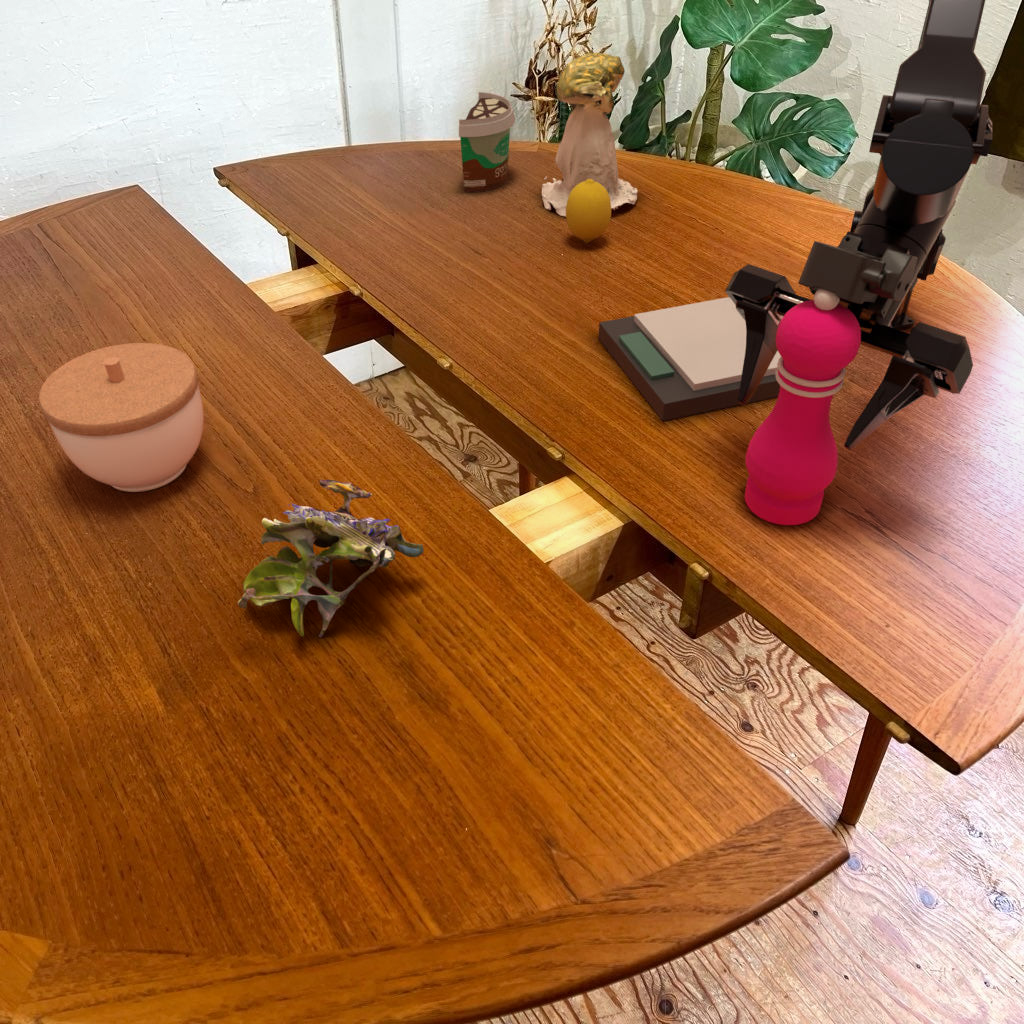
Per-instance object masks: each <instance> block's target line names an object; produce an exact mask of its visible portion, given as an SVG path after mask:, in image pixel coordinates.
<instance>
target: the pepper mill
mask: <svg viewBox="0 0 1024 1024" xmlns="http://www.w3.org/2000/svg"><path fill="white" fill-rule="evenodd" d="M839 300H840V298H838V297H837V295H836V294H835V293H833V292H830V291H827V290H824V289H821V288H819V289H818V290H817V291H816V293H815V295H814V294H813V299H810V301H805V302H802V303H799V304H798V305H796V306H794V307H793V308H791V309H790V310H789V311H788V312H787V313H786V314H785V315H784V317H783V318H782V320H781V322H780V324H779V326H778V329H777V334H776V346H777V349H778V352H779V354H780V355H781V357H780V358H779V360H778V364H777V366H778V369H777V370H776V374H775V376H776V380H777V382H778V383H779V384H780V391H779V395H778V397H777V400H776V402H775V404H774V406H773V408H772V410H771V411H770V412H769V414H768V416H767V417H766V418H765V419H764V421H763V422H762V423H761V424H759V425H760V426H758V428H757V429H756V430H755V432H754V433H753V436H752V437H751V439H750V440H749V443H748V447H747V450H746V453H745V467H746V470H747V472H748V474H749V476H748V478H747V480H746V486H745V490H744V491H745V492H744V500H745V504H746V506H747V507H748V509H749V510H750V511H751V512H752V513H753V514H754V515H756V516H757V517H758V518H760V519H761V520H764V521H766V522H767V523H771V524H775V525H781V526H798V525H803V524H807V523H809V522H810V521H812V520H814V519H815V518H816V517H817V516H818V514H819V513H820V510H821V506H822V504H823V503H822V502H823V500H824V496H825V495H824V494H825V490H826V488H827V487H828V486H829V485H831V483H832V482H833V480H834V479H835V477H836V473H837V467H838V458H839V457H838V447H837V442H836V439H835V436H834V432H833V430H832V426H831V422H830V410H831V405H832V401H833V398H834V395H835V394H837V393H838V392H839V391H840V390H842V388H843V386H844V378H845V377H846V375H847V369H846V367H847V366H848V365H850V364H851V363H852V362H853V361H854V360H855V358H856V356H857V355H858V353H859V350H860V348H861V344H860V342H861V330H860V326H859V323H858V321H857V319H856V317H855V316H854V314H853V313H852V312H851V311H850V310H849V309H848V308H846V307H844V306H843V305H841V304H839Z"/></svg>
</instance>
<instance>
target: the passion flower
mask: <svg viewBox="0 0 1024 1024" xmlns="http://www.w3.org/2000/svg"><path fill="white" fill-rule="evenodd" d="M318 484H319V485H320V486H321V487H322V488H324V489H327V490H330V491H332V492H333V493H335V494H336V493H337V494H340V495H341V496H342V497H343V504H342V506H340V507H339V508H338V509H336V510H333V511H329V510H327V511H326V510H324V509H319V508H314V507H311V506H306V505H305V506H303V505H298V504H295V503H294V502H291V507H292V508H293V510H289V509H286V510H285V511H283V512H282V514H284V515H285V516H286V515H287V519H288V520H289V521H290V522H282V521H281V520H278V519H276V518H274V519H273V521H272V520H271V519H269V518H267V517H263V518H262V520H261V526H263V528H264V529H265V531H264V532H263V533H262V535H261V539H260V544H261V545H265V544H268V543H275V542H278V543H282V542H287V543H290V544H291V545H292V546H294V547H295V548H296V549H297V551H298V553H299V555H300V557H299V556H298V554H297V553H296V552H295V551H294V550H293V549H292V547H289V546H288V545H287V546H283V547H281V548H280V550H278V551H277V554H276V556H275V555H269V556H267V557H266V558H263V559H261V561H260V562H259V563H257V565H256V566H254V567H253V569H250V570H249V572H248V573H247V575H246V577H245V579H244V581H243V582H242V588H243V595H242V596H241V598H240V599H239V600H238V601H237V606H238V607H239V608H241V609H246V608H247V606H248V601H249V600H250V601H251V602H252V603H253V604H254V606H255V607H256V606H257V607H265V606H267V605H272V604H273V603H277V602H279V601H282V600H289V599H291V602H290V611H291V612H290V613H291V622H292V624H293V627H294V629H295V630H296V632H297V633H298V634H299V635H300V636H301V637H305V631H304V611H305V608H306V606H307V604H309V602H310V601H315V602H316V604H317V611H318V613H319V614H320V615H321V617H322V621H323V622H322V628H321V630H320V632H319V634H318V638H323V636H324V634H325V632H326V630H327V629H328V627H329V625H330V622H331V620H332V619H333V616H334V615H335V613H336V611H337V610H338V609H340V607H342V606H344V605H345V603H346V600H347V599H346V598H347V597H348V596H349V594H350V593H351V591H353V590H354V589H355V588H356V587H358V585H359V584H361V582H363V580H365V579H366V577H368V576H370V574H371V573H373V572H374V571H376V570H377V568H380V567H381V568H384V569H385V568H387V567H388V566H389V564H390V562H394V561H395V558H396V552H399V553H401V554H402V555H404V556H406V557H408V558H418V557H420V556H421V555H423V554H424V552H425V550H424V546H423V543H422V544H418V543H414V542H413V543H412V542H408V541H406V539H405V538H404V536H403V533H402V530H401V527H400V526H399V525H397V524H396V525H391V526H390V525H387V523H389V522H390V521H391V519H390V518H385V519H375V518H374V517H371V516H370V517H369V516H368V517H364V518H356V517H355V516H354V515H353V514H352V512H351V510H350V505H351V502H352V501H353V500H354V499H365V500H367V499H369V498H370V497H372V496H373V493H372V492H367V491H366V490H365V489H364V490H363V489H362V488H360V487H359V486H357V485H354V484H353V482H342V481H338V480H334V479H320V480H319V482H318ZM287 506H290V504H289V503H288V504H287ZM314 546H315V547H317V548H322V549H323V550H321V552H320V553H318V554H316V553H315V552H314ZM334 560H348V561H349V563H350V564H353V565H355V566H358V567H359V568H363V567H365V566H370V568H369V569H368V570H367V571H366V572H363V573H362V574H361V575H360V576H358V577H357V579H356V580H355V581H354V582H353V583H352V584H350V585H349V586H348V587H347V588H346V589H345V590H343V591H337V590H334V589H335V588H334V586H333V578H334V577H333V562H334ZM327 563H329V576H328V582H326V583H323V582H322V581H321V580H320V578H319V577H318V576H317V570H318V569H319V568H320V567H322V566H323V565H325V564H327ZM313 587H317V588H320V589H321V590H323V591H324V592H325V593H326V594H327V595H325V594H324V595H323V594H322V595H321V594H320V595H318V594H312V593H310V592H309V589H310V588H313Z"/></svg>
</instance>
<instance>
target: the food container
mask: <svg viewBox="0 0 1024 1024" xmlns="http://www.w3.org/2000/svg"><path fill="white" fill-rule="evenodd" d="M458 122H459V123H458V137H459V138H460V139H459V140H460V153H461V164H462V165H461V166H462V179H463V191H464V192H465V193H477V192H479V193H480V192H487V191H490V190H495V189H498V188H500V187H502V186H503V185H504V184H506V182H507V181H508V171H509V155H510V138H511V137H510V136H511V135H510V134H511V128H512V127H513V126H514V124H515V123H516V117H515V113H514V108H513V106H512V104H511V102H510V100H509V99H507V98H506V97H504V96H502V95H499V94H497V93H496V94H495V93H491V92H483V91H482V92H481V91H478V99H477V102H476V104H475V105H474V106H473V107H471V108H470V110H469V111H468V114H467V116H466V118H465V119H458Z"/></svg>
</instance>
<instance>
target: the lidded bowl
mask: <svg viewBox="0 0 1024 1024" xmlns="http://www.w3.org/2000/svg"><path fill="white" fill-rule="evenodd" d="M195 365H196V364H195V363H194V361H193V360H192V359H191V357H189V355H187V354H186V353H184V352H183V351H181V350H179V349H178V348H175V347H172V346H169V345H166V344H160V343H152V342H151V343H150V342H131V343H122V344H115V345H110V346H105V347H101V348H99V349H94V350H92V351H89V352H86V353H84V354H81V355H79V356H76V357H74V358H72V359H71V360H68V361H67V362H65V363H64V364H62V365H61V366H59V367H58V368H57V369H55V370H54V371H53V372H52V373H51V374H50V375H49V376H48V377H47V378H46V379H45V381H44V382H43V384H42V386H41V388H40V391H39V392H38V403H39V407H40V410H41V412H42V414H43V416H44V418H45V419H46V420H47V422H48V424H49V427H50V430H51V431H52V434H53V436H54V438H55V440H56V441H57V443H58V444H59V446H60V448H61V450H62V451H63V452H64V454H65V455H66V457H67V458H68V460H69V461H70V462H71V463H72V464H73V465H74V466H75V467H76V468H77V469H78V470H80V471H81V472H82V473H83V474H84V475H86V476H88V477H90V478H91V479H93V480H94V481H97V482H100V483H102V484H105V485H108V486H111V487H112V488H113V489H116V490H118V491H122V492H127V493H128V492H129V493H139V492H147V491H151V490H155V489H158V488H161V487H164V486H165V485H168V484H169V483H172V482H173V481H175V480H176V479H177V478H178V477H179V476H181V474H182V473H183V472H184V471H185V470H186V468H187V465H188V463H190V462H191V460H192V458H193V457H194V455H195V454H196V452H197V450H198V448H199V445H200V443H201V441H202V438H203V437H202V436H203V431H204V417H205V414H204V407H203V406H204V405H203V400H202V399H203V398H202V395H201V394H202V393H201V390H200V386H199V378H198V372H197V368H196V366H195Z"/></svg>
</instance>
